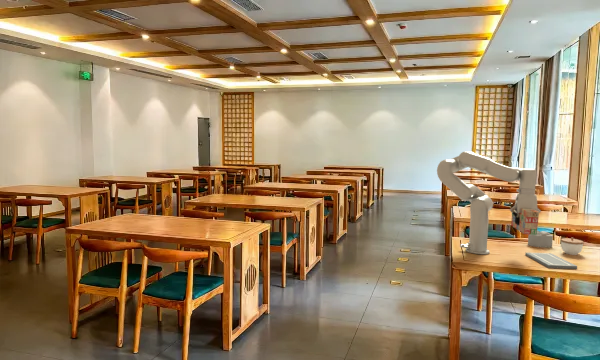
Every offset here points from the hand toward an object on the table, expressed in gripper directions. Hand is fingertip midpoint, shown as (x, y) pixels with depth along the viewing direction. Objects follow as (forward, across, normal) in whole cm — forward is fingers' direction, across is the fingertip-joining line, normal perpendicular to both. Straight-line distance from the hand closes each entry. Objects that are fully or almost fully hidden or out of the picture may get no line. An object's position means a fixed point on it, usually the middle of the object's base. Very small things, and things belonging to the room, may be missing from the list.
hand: (524, 224), depth 223 cm
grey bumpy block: (+19, +26, +34) cm, 47 cm away
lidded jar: (+19, +35, +16) cm, 43 cm away
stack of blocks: (+3, 0, 0) cm, 3 cm away
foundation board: (+19, +13, -3) cm, 24 cm away
